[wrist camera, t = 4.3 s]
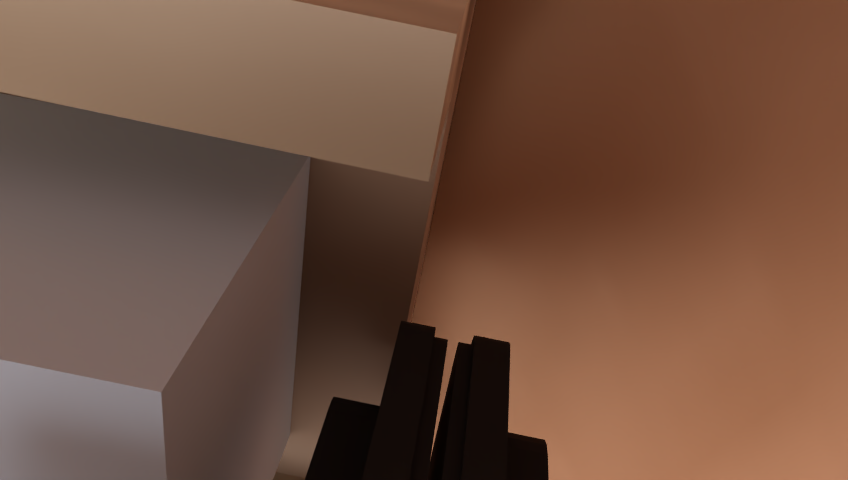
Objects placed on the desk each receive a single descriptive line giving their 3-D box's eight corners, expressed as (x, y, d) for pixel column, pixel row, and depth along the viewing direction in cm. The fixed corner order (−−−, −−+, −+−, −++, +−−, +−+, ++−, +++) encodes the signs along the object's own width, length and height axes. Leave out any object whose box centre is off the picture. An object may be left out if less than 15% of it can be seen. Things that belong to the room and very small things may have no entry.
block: (-84, 76, 10) (-500, 256, 6) (310, 153, 10) (162, 391, 6) (-13, 373, 14) (-256, 625, 9) (289, 434, 13) (182, 720, 9)
